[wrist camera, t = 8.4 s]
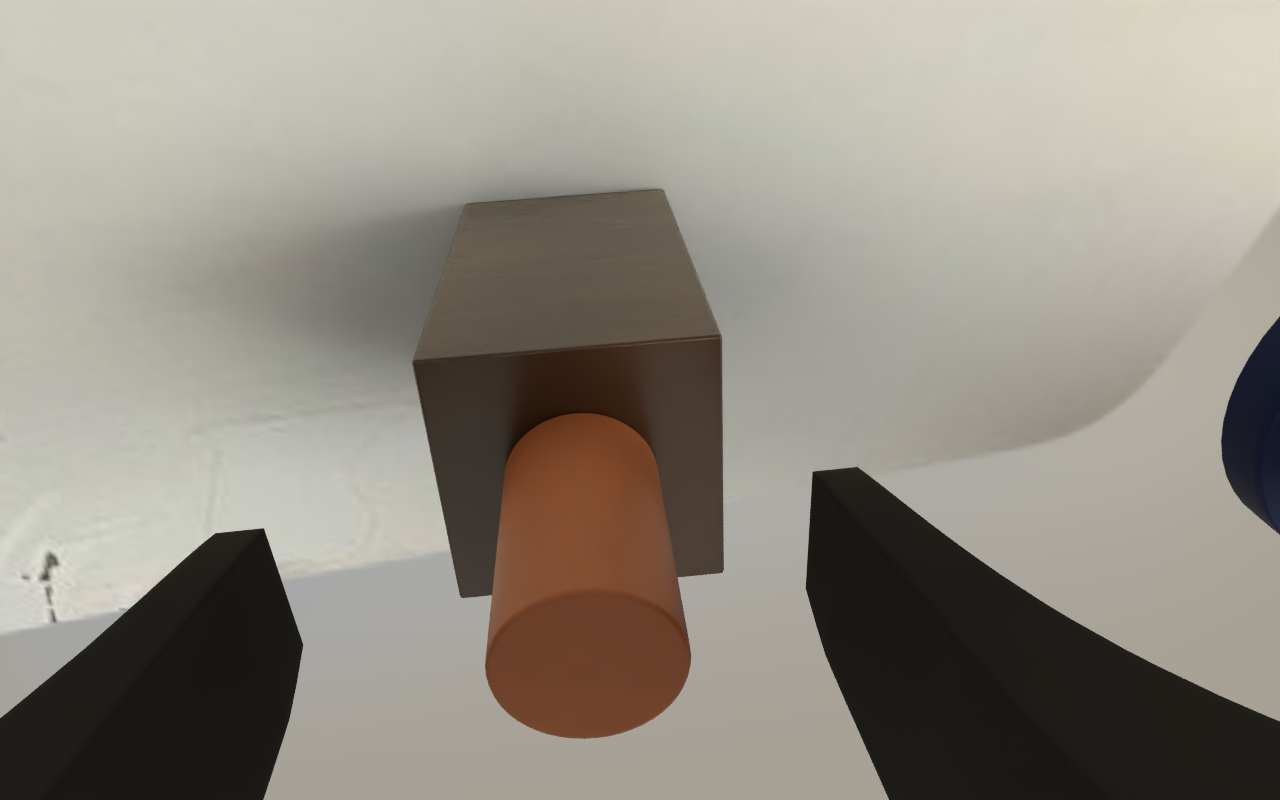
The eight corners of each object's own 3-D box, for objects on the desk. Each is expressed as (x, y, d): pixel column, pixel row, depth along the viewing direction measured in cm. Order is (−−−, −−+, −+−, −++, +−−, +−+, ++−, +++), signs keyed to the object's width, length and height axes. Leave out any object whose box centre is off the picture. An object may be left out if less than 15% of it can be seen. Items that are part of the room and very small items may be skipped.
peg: (653, 404, 13) (689, 581, 9) (660, 530, 14) (694, 730, 11) (494, 418, 13) (470, 602, 9) (514, 544, 14) (499, 751, 10)
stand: (664, 188, 19) (722, 335, 12) (670, 364, 22) (724, 574, 15) (465, 203, 19) (411, 361, 12) (492, 380, 21) (459, 599, 14)
